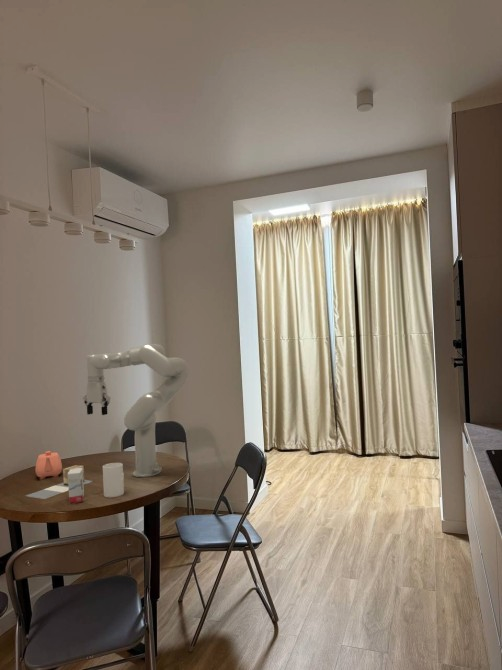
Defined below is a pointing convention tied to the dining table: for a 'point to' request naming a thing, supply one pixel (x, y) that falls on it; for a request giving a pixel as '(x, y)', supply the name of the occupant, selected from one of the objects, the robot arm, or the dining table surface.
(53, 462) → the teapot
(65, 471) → the block
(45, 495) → the grey board
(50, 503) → the dining table surface
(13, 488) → the dining table surface
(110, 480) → the mug
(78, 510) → the dining table surface
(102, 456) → the dining table surface
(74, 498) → the ink box
